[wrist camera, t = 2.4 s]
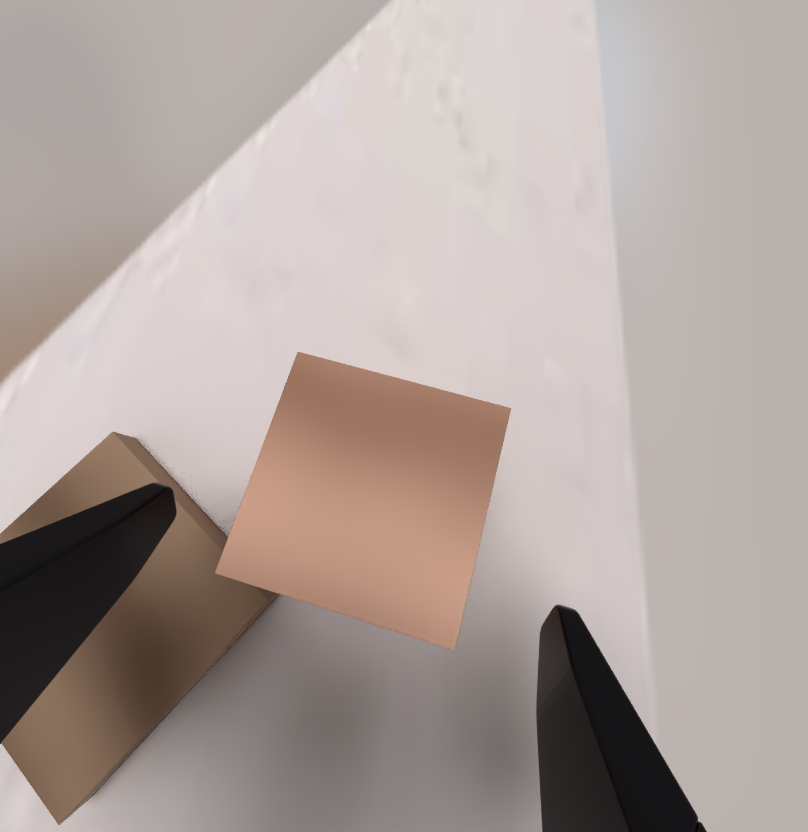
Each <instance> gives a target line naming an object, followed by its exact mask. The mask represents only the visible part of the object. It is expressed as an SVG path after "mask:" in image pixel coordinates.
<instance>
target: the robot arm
mask: <svg viewBox="0 0 808 832" xmlns="http://www.w3.org/2000/svg"><path fill="white" fill-rule="evenodd" d="M176 513H177V508H176V502H175V496H174V491H173V489H172V487H170V486H168V485H164V484H161V483H157V482H154V483H150V484H147V485H145V486H142V487H140V488H137V489H135V490H132V491H130V492H127V493H125V494H123V495H120V496H118V497H115V498H113V499H110V500H108V501H105V502H103V503H100V504H98V505H95V506H93V507H90V508H88V509H85V510H83V511H80V512H78V513H75V514H73V515H70V516H68V517H65V518H63V519H60V520H58V521H55V522H53V523H50V524H48V525H45V526H43V527H40V528H38V529H35V530H33V531H30V532H28V533H26V534H23V535H21V536H18V537H16V538H13V539H11V540H8V541H6V542H3V543H1V544H0V744H1V743H2V741H3V740H4V739H5V738H6V737H7V735H8V734H9V733H10V732H11V730H12V729H13V728H14V727H15V726H16V724H17V723H18V722H19V721H20V719H21V718H22V717H23V716H24V714H25V713H26V712H27V711H28V710H29V708H30V707H31V706H32V705H33V703H34V702H35V701H36V700H37V699H38V697H39V696H40V695H41V694H42V692H43V691H44V690H45V689H46V688H47V686H48V685H49V684H50V683H51V681H52V680H53V679H54V678H55V676H56V675H57V674H58V673H59V672H60V670H61V669H62V668H63V667H64V665H65V664H66V663H67V662H68V661H69V659H70V658H71V657H72V656H73V654H74V653H75V652H76V651H77V650H78V648H79V647H80V646H81V645H82V643H83V642H84V641H85V640H86V638H87V637H88V636H89V635H90V634H91V632H92V631H93V630H94V629H95V627H96V626H97V625H98V624H99V623H100V621H101V620H102V619H103V618H104V616H105V615H106V614H107V613H108V612H109V610H110V609H111V608H112V607H113V605H114V604H115V603H116V602H117V600H118V599H119V598H120V597H121V596H122V594H123V593H124V592H125V591H126V589H127V588H128V587H129V586H130V584H131V583H132V582H133V581H134V579H135V578H136V577H137V575H138V574H139V572H140V571H141V569H142V568H143V566H144V565H145V563H146V562H147V560H148V559H149V557H150V556H151V555H152V553H153V552H154V550H155V549H156V547H157V546H158V544H159V543H160V541H161V540H162V538H163V537H164V535H165V534H166V532H167V531H168V529H169V528H170V526H171V525H172V523H173V521H174V520H175V517H176ZM536 716H537V738H538V757H539V775H540V794H541V813H542V831H543V832H707V831H706V830H705V828H704V826H703V825H702V823H701V822H698V817H697V815H696V813H695V811H694V810H693V808H692V806H691V805H690V803H689V801H688V799H687V798H686V796H685V794H684V792H683V791H682V789H681V787H680V786H679V784H678V782H677V780H676V779H675V777H674V776H673V774H672V772H671V770H670V769H669V767H668V765H667V763H666V762H665V760H664V758H663V757H662V755H661V753H660V751H659V750H658V748H657V746H656V745H655V743H654V741H653V740H652V738H651V736H650V734H649V733H648V731H647V729H646V728H645V726H644V724H643V722H642V721H641V719H640V717H639V716H638V714H637V712H636V711H635V709H634V707H633V705H632V704H631V702H630V700H629V699H628V697H627V695H626V694H625V692H624V690H623V688H622V687H621V685H620V683H619V682H618V680H617V678H616V676H615V675H614V673H613V671H612V670H611V668H610V666H609V665H608V663H607V661H606V659H605V658H604V656H603V654H602V653H601V651H600V649H599V647H598V646H597V644H596V642H595V641H594V639H593V637H592V636H591V634H590V632H589V630H588V629H587V627H586V625H585V624H584V622H583V620H582V619H581V617H580V615H579V614H578V612H577V611H576V610H574V609H572V608H569V607H566V606H562V605H556V606H554V608H553V609H552V611H551V612H550V614H549V615H548V617H547V618H546V620H545V621H544V623H543V625H542V627H541V631H540V643H539V663H538V682H537V706H536Z"/></svg>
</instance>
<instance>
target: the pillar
mask: <svg viewBox="0 0 808 832" xmlns="http://www.w3.org/2000/svg"><path fill="white" fill-rule="evenodd" d="M510 411H511V408H508V407H504V406H500V405H497V404H493V403H489V402H485V401H481V400H478V399H474V398H470V397H466V396H463V395H459V394H455V393H451V392H448V391H444V390H440V389H436V388H433V387H429V386H425V385H421V384H418V383H414V382H410V381H406V380H402V379H399V378H395V377H391V376H387V375H384V374H380V373H376V372H372V371H369V370H365V369H361V368H357V367H354V366H350V365H346V364H342V363H339V362H335V361H331V360H327V359H323V358H320V357H316V356H312V355H308V354H305V353H301V352H297V355H296V358H295V360H294V363H293V366H292V368H291V371H290V374H289V376H288V379H287V382H286V384H285V387H284V390H283V392H282V395H281V398H280V401H279V403H278V406H277V409H276V411H275V414H274V417H273V419H272V422H271V425H270V427H269V430H268V433H267V435H266V438H265V441H264V443H263V446H262V449H261V451H260V454H259V457H258V459H257V462H256V465H255V467H254V470H253V473H252V475H251V478H250V481H249V483H248V486H247V489H246V491H245V494H244V497H243V499H242V502H241V505H240V507H239V510H238V513H237V515H236V518H235V521H234V523H233V526H232V529H231V531H230V534H229V537H228V539H227V542H226V545H225V547H224V550H223V553H222V555H221V558H220V561H219V563H218V566H217V569H216V571H215V573H216V574H219V575H222V576H225V577H228V578H232V579H235V580H238V581H241V582H244V583H247V584H250V585H253V586H256V587H259V588H263V589H266V590H269V591H272V592H275V593H278V594H281V595H284V596H287V597H290V598H294V599H297V600H300V601H303V602H306V603H309V604H312V605H315V606H318V607H321V608H325V609H328V610H331V611H334V612H337V613H340V614H343V615H346V616H349V617H352V618H356V619H359V620H362V621H365V622H368V623H371V624H374V625H377V626H380V627H383V628H387V629H390V630H393V631H396V632H399V633H402V634H405V635H408V636H411V637H414V638H418V639H421V640H424V641H427V642H430V643H433V644H436V645H439V646H442V647H445V648H449V649H452V650H455V647H456V643H457V638H458V634H459V630H460V625H461V621H462V617H463V612H464V608H465V604H466V600H467V595H468V591H469V587H470V582H471V578H472V574H473V570H474V565H475V561H476V557H477V552H478V548H479V544H480V540H481V535H482V531H483V527H484V522H485V518H486V514H487V509H488V505H489V501H490V497H491V492H492V488H493V484H494V479H495V475H496V471H497V467H498V462H499V458H500V454H501V449H502V445H503V441H504V437H505V432H506V428H507V424H508V419H509V415H510Z"/></svg>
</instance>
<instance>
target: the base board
mask: <svg viewBox="0 0 808 832" xmlns="http://www.w3.org/2000/svg"><path fill="white" fill-rule="evenodd" d="M154 482H157V483H161V484H164V485H168V486H170V487H172V489H173V491H174V496H175V502H176V508H177V513H176V517H175V520H174V521H173V523H172V525H171V526H170V528H169V529H168V531H167V532H166V534H165V535H164V537H163V538H162V540H161V541H160V543H159V544H158V546H157V547H156V549H155V550H154V552H153V553H152V555H151V556H150V557H149V559H148V560H147V562H146V563H145V565H144V566H143V568H142V569H141V571H140V572H139V574H138V575H137V577H136V578H135V579H134V581H133V582H132V583H131V584H130V586H129V587H128V588H127V589H126V591H125V592H124V593H123V594H122V596H121V597H120V598H119V599H118V600H117V602H116V603H115V604H114V605H113V607H112V608H111V609H110V610H109V612H108V613H107V614H106V615H105V616H104V618H103V619H102V620H101V621H100V623H99V624H98V625H97V626H96V627H95V629H94V630H93V631H92V632H91V634H90V635H89V636H88V637H87V638H86V640H85V641H84V642H83V643H82V645H81V646H80V647H79V648H78V650H77V651H76V652H75V653H74V654H73V656H72V657H71V658H70V659H69V661H68V662H67V663H66V664H65V665H64V667H63V668H62V669H61V670H60V672H59V673H58V674H57V675H56V676H55V678H54V679H53V680H52V681H51V683H50V684H49V685H48V686H47V688H46V689H45V690H44V691H43V692H42V694H41V695H40V696H39V697H38V699H37V700H36V701H35V702H34V703H33V705H32V706H31V707H30V708H29V710H28V711H27V712H26V713H25V714H24V716H23V717H22V718H21V719H20V721H19V722H18V723H17V724H16V726H15V727H14V728H13V729H12V730H11V732H10V733H9V734H8V735H7V737H6V738H5V739H4V740H3V741H2V744H3V746H4V747H5V749H6V750H7V752H8V753H9V754H10V756H11V757H12V759H13V760H14V762H15V763H16V764H17V766H18V767H19V769H20V770H21V772H22V773H23V774H24V776H25V777H26V779H27V780H28V782H29V783H30V785H31V786H32V787H33V789H34V790H35V792H36V793H37V795H38V796H39V797H40V799H41V800H42V802H43V803H44V805H45V806H46V807H47V809H48V810H49V812H50V813H51V815H52V816H53V817H54V819H55V820H56V822H57V823H58V825H60V824H61V823H62V822H63V821H64V820H65V819H67V818H68V817H69V816H70V815H71V814H72V813H74V812H75V811H76V810H77V809H78V808H79V807H80V806H82V805H83V804H84V803H85V802H86V801H87V800H89V799H90V798H91V797H92V796H93V795H94V794H95V793H96V792H97V790H98V789H99V788H100V787H101V786H102V785H103V784H104V783H105V782H106V781H107V780H108V779H109V777H110V776H111V775H112V774H113V773H114V772H115V771H116V770H117V769H118V768H119V767H120V766H121V764H122V763H123V762H124V761H125V760H126V759H127V758H128V757H129V756H130V755H131V754H132V753H133V751H134V750H135V749H136V748H137V747H138V746H139V745H140V744H141V743H142V742H143V741H144V740H145V738H146V737H147V736H148V735H149V734H150V733H151V732H152V731H153V730H154V729H155V728H156V727H157V725H158V724H159V723H160V722H161V721H162V720H163V719H164V718H165V717H166V716H167V715H168V714H169V712H170V711H171V710H172V709H173V708H174V707H175V706H176V705H177V704H178V703H179V702H180V701H181V699H182V698H183V697H184V696H185V695H186V694H187V693H188V692H189V691H190V690H191V689H192V688H193V686H194V685H195V684H196V683H197V682H198V681H199V680H200V679H201V678H202V677H203V676H204V675H205V673H206V672H207V671H208V670H209V669H210V668H211V667H212V666H213V665H214V664H215V663H216V662H217V660H218V659H219V658H220V657H221V656H222V655H223V654H224V653H225V652H226V651H227V650H228V649H229V647H230V646H231V645H232V644H233V643H234V642H235V641H236V640H237V639H238V638H239V637H240V636H241V634H242V633H243V632H244V631H245V630H246V629H247V628H248V627H249V626H250V625H251V624H252V623H253V621H254V620H255V619H256V618H257V617H258V616H259V615H260V614H261V613H262V612H263V611H264V610H265V608H266V607H267V606H268V605H269V604H270V603H271V602H272V601H273V600H274V599H275V598H276V597H277V595H278V593H275V592H272V591H269V590H266V589H263V588H259V587H256V586H253V585H250V584H247V583H244V582H241V581H238V580H235V579H232V578H228V577H225V576H222V575H219V574H216V573H215V571H216V569H217V566H218V563H219V561H220V558H221V555H222V553H223V550H224V547H225V545H226V542H227V539H228V537H227V536H226V535H225V534H224V533H223V532H222V531H221V530H220V529H219V528H218V527H217V525H216V524H215V523H214V522H213V521H212V520H211V519H210V518H209V517H208V516H207V515H206V514H205V513H204V512H203V510H202V509H201V508H200V507H199V506H198V505H197V504H196V503H195V502H194V501H193V500H192V499H191V498H190V496H189V495H188V494H187V493H186V492H185V491H184V490H183V489H182V488H181V487H180V486H179V485H178V484H177V482H176V481H175V480H174V479H173V478H172V477H171V476H170V475H169V474H168V473H167V472H166V471H165V470H164V468H163V467H162V466H161V465H160V464H159V463H158V462H157V461H156V460H155V459H154V458H153V457H152V456H151V455H150V453H149V452H148V451H147V450H146V449H145V448H144V447H143V446H142V445H141V444H140V443H139V442H138V441H137V439H136V438H133V437H129V436H126V435H123V434H119V433H116V432H112V433H111V434H110V435H108V436H107V437H106V438H105V439H104V440H103V441H102V442H101V443H100V444H99V445H97V446H96V447H95V448H94V449H93V450H92V451H91V452H90V453H89V454H88V455H86V456H85V457H84V458H83V459H82V460H81V461H80V462H79V463H78V464H77V465H75V466H74V467H73V468H72V469H71V470H70V471H69V472H68V473H67V474H66V475H64V476H63V477H62V478H61V479H60V480H59V481H58V482H57V483H56V484H55V485H53V486H52V487H51V488H50V489H49V490H48V491H47V492H46V493H45V494H44V495H42V496H41V497H40V498H39V499H38V500H37V501H36V502H35V503H34V504H33V505H31V506H30V507H29V508H28V509H27V510H26V511H25V512H24V513H23V514H21V515H20V516H19V517H18V518H17V519H16V520H15V521H14V522H13V523H12V524H10V525H9V526H8V527H7V528H6V529H5V530H4V531H3V532H2V533H1V534H0V544H1V543H3V542H6V541H8V540H11V539H13V538H16V537H18V536H21V535H23V534H26V533H28V532H30V531H33V530H35V529H38V528H40V527H43V526H45V525H48V524H50V523H53V522H55V521H58V520H60V519H63V518H65V517H68V516H70V515H73V514H75V513H78V512H80V511H83V510H85V509H88V508H90V507H93V506H95V505H98V504H100V503H103V502H105V501H108V500H110V499H113V498H115V497H118V496H120V495H123V494H125V493H127V492H130V491H132V490H135V489H137V488H140V487H142V486H145V485H147V484H150V483H154Z"/></svg>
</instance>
